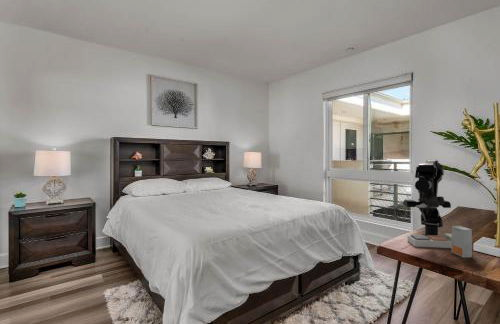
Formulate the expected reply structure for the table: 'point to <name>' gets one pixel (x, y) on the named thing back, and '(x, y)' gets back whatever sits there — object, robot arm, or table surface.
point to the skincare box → (461, 241)
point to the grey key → (420, 237)
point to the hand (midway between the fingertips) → (426, 221)
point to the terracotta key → (437, 238)
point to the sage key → (447, 236)
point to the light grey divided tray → (429, 243)
